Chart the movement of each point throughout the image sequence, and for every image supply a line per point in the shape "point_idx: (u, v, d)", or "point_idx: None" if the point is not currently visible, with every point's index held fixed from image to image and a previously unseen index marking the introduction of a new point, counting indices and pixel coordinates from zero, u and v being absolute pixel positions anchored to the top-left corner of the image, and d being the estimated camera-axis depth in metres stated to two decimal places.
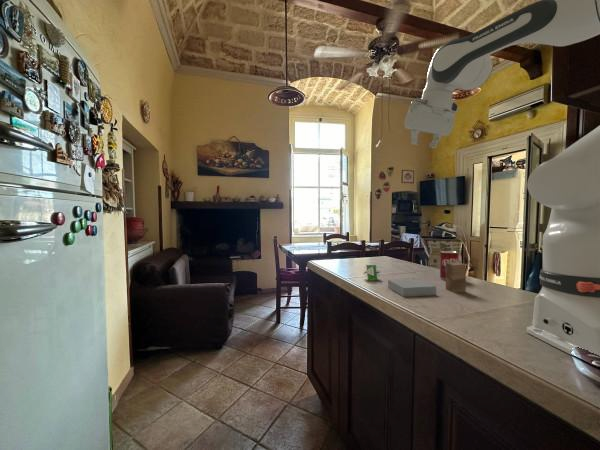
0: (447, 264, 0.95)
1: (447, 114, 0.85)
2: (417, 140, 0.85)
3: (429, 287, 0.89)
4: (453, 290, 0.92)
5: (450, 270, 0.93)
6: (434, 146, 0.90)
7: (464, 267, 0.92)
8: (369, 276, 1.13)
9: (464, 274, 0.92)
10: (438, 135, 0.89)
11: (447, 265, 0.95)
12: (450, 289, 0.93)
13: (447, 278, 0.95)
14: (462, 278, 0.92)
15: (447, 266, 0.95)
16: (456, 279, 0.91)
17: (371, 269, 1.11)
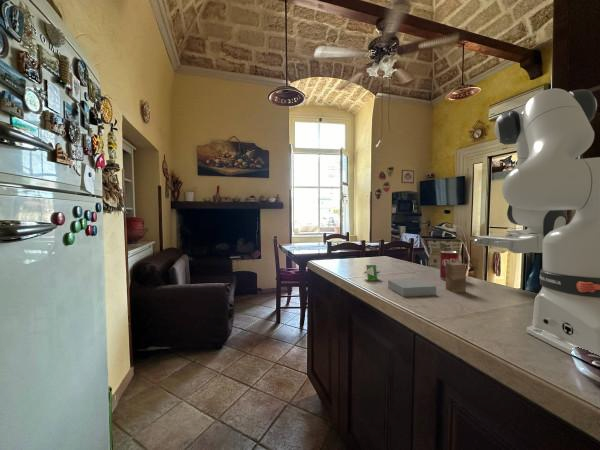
0: (447, 264, 0.95)
1: (522, 235, 0.91)
2: (478, 239, 0.99)
3: (429, 287, 0.89)
4: (453, 290, 0.92)
5: (450, 270, 0.93)
6: (496, 241, 0.90)
7: (464, 267, 0.92)
8: (369, 276, 1.13)
9: (464, 274, 0.92)
10: None
11: (447, 265, 0.95)
12: (450, 289, 0.93)
13: (447, 278, 0.95)
14: (462, 278, 0.92)
15: (447, 266, 0.95)
16: (456, 279, 0.91)
17: (371, 269, 1.11)
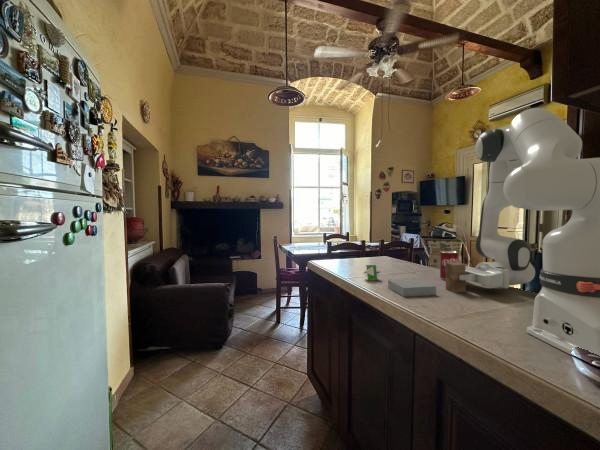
0: (447, 264, 0.95)
1: (490, 270, 0.90)
2: None
3: (429, 287, 0.89)
4: (453, 290, 0.92)
5: (450, 270, 0.93)
6: (459, 275, 0.91)
7: (464, 267, 0.92)
8: (369, 276, 1.13)
9: (464, 274, 0.92)
10: None
11: (447, 265, 0.95)
12: (450, 289, 0.93)
13: (447, 278, 0.95)
14: None
15: (447, 266, 0.95)
16: (456, 278, 0.91)
17: (371, 269, 1.11)
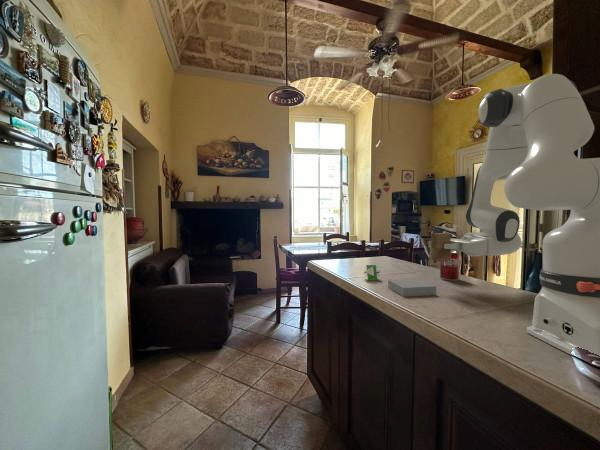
0: (432, 234, 0.95)
1: (475, 238, 0.90)
2: None
3: (429, 287, 0.89)
4: (438, 259, 0.92)
5: (436, 239, 0.93)
6: (444, 244, 0.91)
7: (449, 236, 0.92)
8: (369, 276, 1.13)
9: (449, 243, 0.92)
10: None
11: (432, 235, 0.95)
12: (435, 259, 0.93)
13: (433, 248, 0.95)
14: None
15: (432, 236, 0.95)
16: (441, 248, 0.92)
17: (371, 269, 1.11)
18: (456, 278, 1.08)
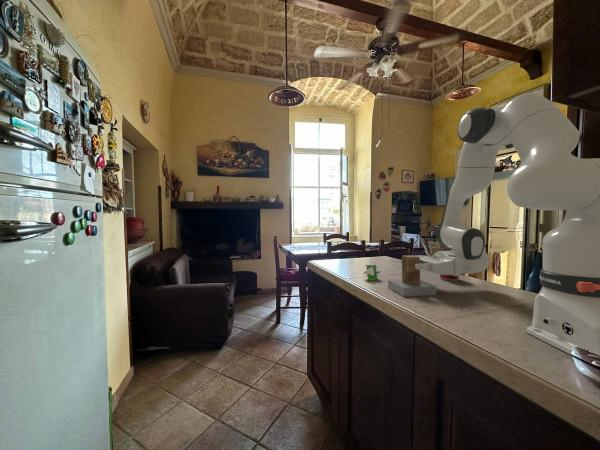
0: (403, 257, 0.95)
1: (443, 258, 0.91)
2: None
3: (429, 287, 0.89)
4: (407, 282, 0.92)
5: (405, 262, 0.93)
6: (416, 264, 0.90)
7: (418, 260, 0.92)
8: (369, 276, 1.13)
9: None
10: None
11: (403, 258, 0.95)
12: (405, 281, 0.94)
13: (403, 271, 0.95)
14: (416, 270, 0.92)
15: (403, 259, 0.95)
16: (410, 271, 0.92)
17: (371, 269, 1.11)
18: (456, 278, 1.08)
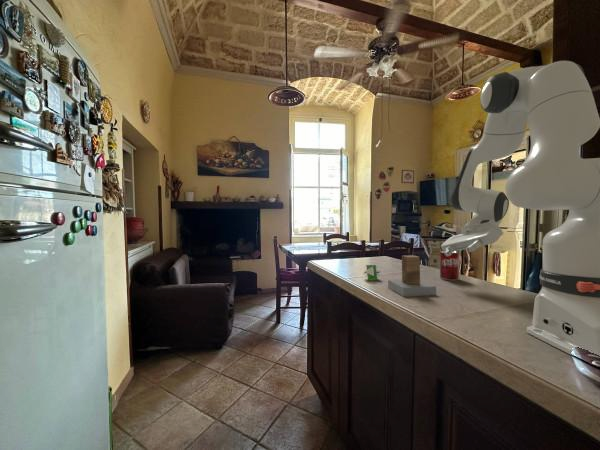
0: (403, 257, 0.95)
1: (479, 227, 0.92)
2: (447, 250, 0.96)
3: (429, 287, 0.89)
4: (407, 282, 0.92)
5: (405, 262, 0.93)
6: (468, 247, 0.88)
7: (418, 260, 0.92)
8: (369, 276, 1.13)
9: (418, 266, 0.92)
10: None
11: (403, 258, 0.95)
12: (405, 281, 0.94)
13: (403, 271, 0.95)
14: (416, 270, 0.92)
15: (403, 259, 0.95)
16: (410, 271, 0.92)
17: (371, 269, 1.11)
18: (456, 278, 1.08)
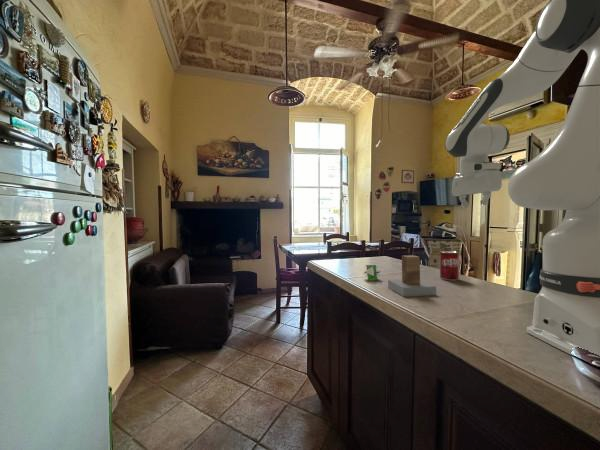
0: (403, 257, 0.95)
1: (476, 174, 0.91)
2: (463, 203, 1.00)
3: (429, 287, 0.89)
4: (407, 282, 0.92)
5: (405, 262, 0.93)
6: (482, 204, 0.91)
7: (418, 260, 0.92)
8: (369, 276, 1.13)
9: (418, 266, 0.92)
10: None
11: (403, 258, 0.95)
12: (405, 281, 0.94)
13: (403, 271, 0.95)
14: (416, 270, 0.92)
15: (403, 259, 0.95)
16: (410, 271, 0.92)
17: (371, 269, 1.11)
18: (456, 278, 1.08)
